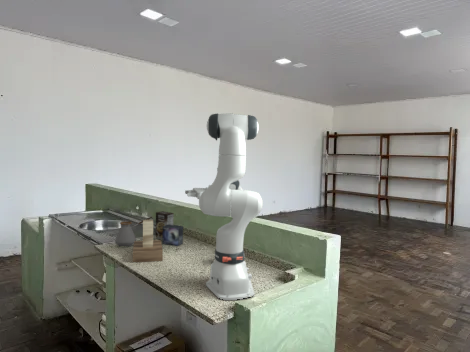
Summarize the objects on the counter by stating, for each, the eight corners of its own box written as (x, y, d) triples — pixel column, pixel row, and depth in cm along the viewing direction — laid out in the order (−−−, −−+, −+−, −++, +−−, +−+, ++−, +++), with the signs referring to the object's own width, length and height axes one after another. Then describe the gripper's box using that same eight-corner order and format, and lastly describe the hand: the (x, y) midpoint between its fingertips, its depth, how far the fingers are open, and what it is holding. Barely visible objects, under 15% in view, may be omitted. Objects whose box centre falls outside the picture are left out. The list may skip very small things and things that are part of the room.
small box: (161, 244, 188) (161, 226, 187) (167, 241, 194) (167, 224, 193) (178, 246, 185) (178, 228, 184) (183, 243, 191) (183, 225, 190)
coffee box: (154, 238, 200) (155, 212, 199) (161, 236, 206) (162, 210, 205) (166, 240, 196) (167, 214, 195) (173, 238, 202) (173, 212, 200)
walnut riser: (162, 260, 160) (162, 250, 159) (132, 262, 156) (132, 252, 156) (160, 249, 179) (160, 240, 178) (134, 250, 175) (134, 241, 175)
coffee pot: (117, 249, 176) (118, 221, 175) (112, 243, 186) (112, 217, 185) (156, 244, 188) (156, 218, 187) (149, 239, 198) (149, 214, 197)
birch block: (153, 246, 165) (153, 221, 164) (142, 247, 164) (143, 221, 163) (152, 244, 170) (153, 219, 169) (142, 244, 169) (143, 219, 168)
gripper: (208, 185, 184) (184, 185, 180) (216, 189, 164) (188, 189, 160) (208, 196, 184) (183, 196, 180) (216, 202, 164) (188, 202, 161)
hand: (186, 193), depth 170 cm, fingers open, 8 cm apart
